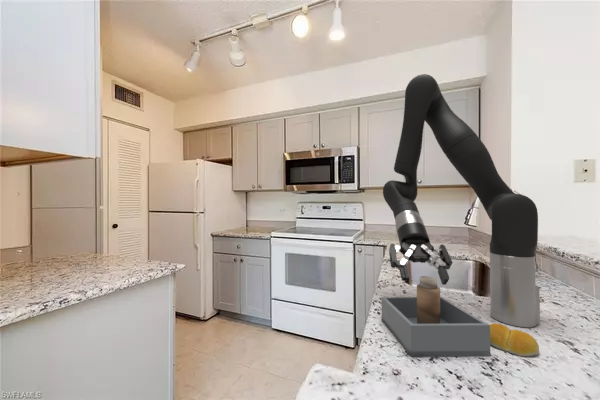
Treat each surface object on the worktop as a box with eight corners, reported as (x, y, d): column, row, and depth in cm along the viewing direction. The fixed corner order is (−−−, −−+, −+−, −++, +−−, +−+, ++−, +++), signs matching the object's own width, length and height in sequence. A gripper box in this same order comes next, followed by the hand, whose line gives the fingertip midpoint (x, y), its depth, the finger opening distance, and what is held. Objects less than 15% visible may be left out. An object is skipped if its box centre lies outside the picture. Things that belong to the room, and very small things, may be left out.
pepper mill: (432, 326, 60) (432, 275, 61) (444, 336, 56) (444, 281, 56) (412, 326, 60) (413, 275, 61) (423, 336, 55) (423, 281, 56)
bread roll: (536, 364, 48) (536, 342, 48) (480, 344, 55) (480, 325, 55) (541, 348, 54) (541, 329, 54) (489, 332, 60) (489, 315, 60)
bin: (442, 320, 66) (441, 297, 66) (490, 355, 50) (490, 325, 50) (381, 320, 65) (381, 297, 66) (411, 356, 49) (410, 325, 50)
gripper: (386, 221, 70) (397, 272, 58) (441, 221, 68) (463, 274, 57) (383, 238, 75) (392, 288, 64) (433, 238, 73) (453, 291, 62)
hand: (426, 282), depth 60 cm, fingers open, 8 cm apart
